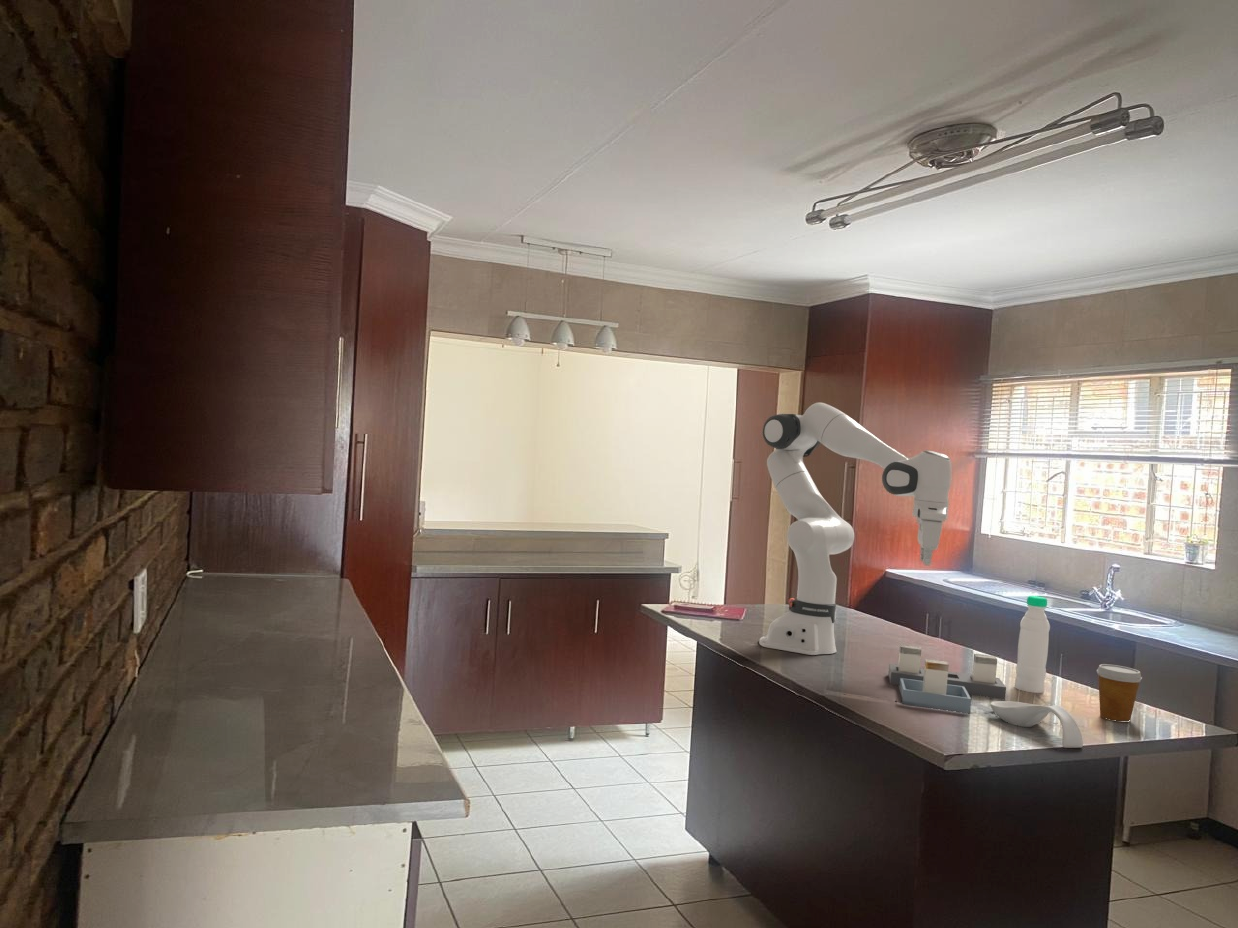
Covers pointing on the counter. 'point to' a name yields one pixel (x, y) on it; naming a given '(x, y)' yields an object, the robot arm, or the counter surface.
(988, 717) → the counter surface
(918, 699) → the tray
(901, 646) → the block
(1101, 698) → the disposable coffee cup
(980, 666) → the block
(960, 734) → the counter surface
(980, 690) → the fuse strip
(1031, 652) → the water bottle
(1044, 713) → the spoon rest
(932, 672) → the orange cap fuse
